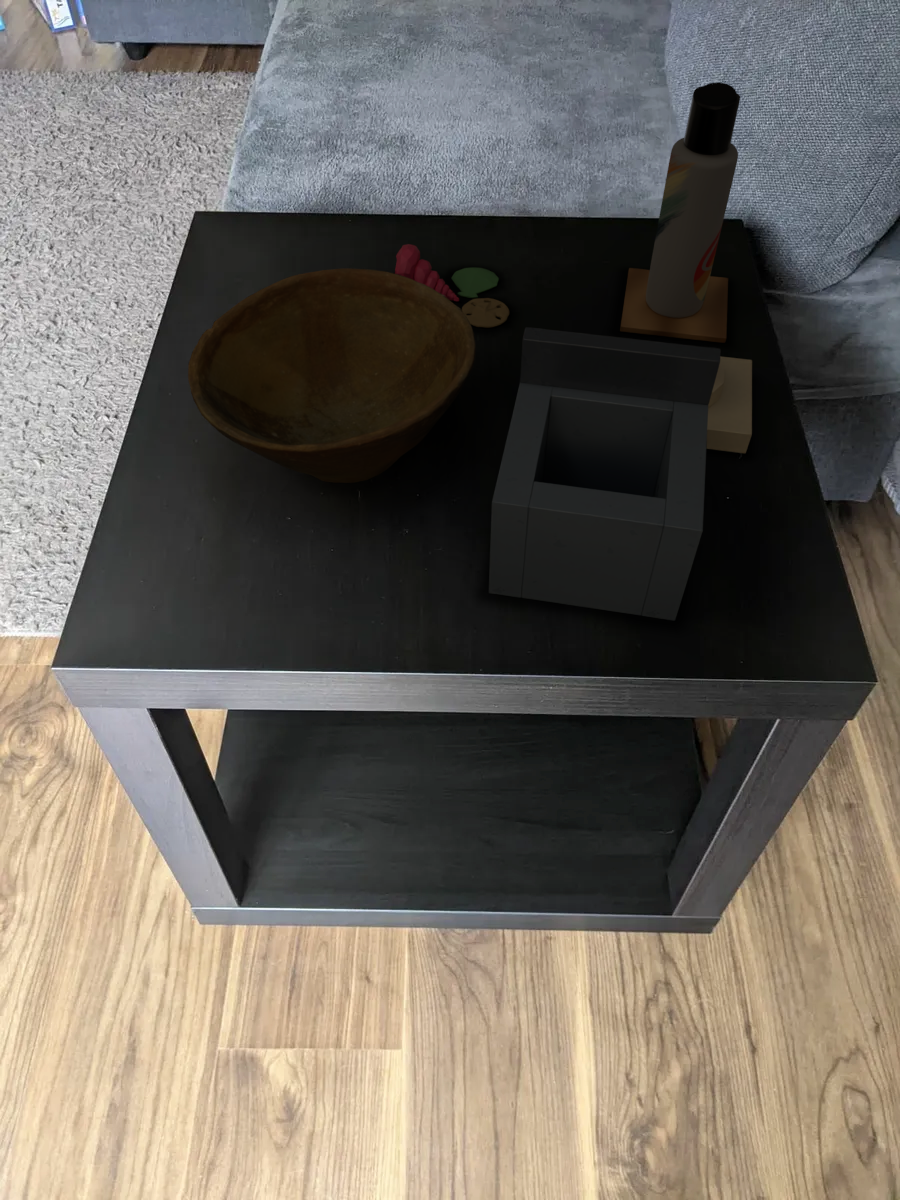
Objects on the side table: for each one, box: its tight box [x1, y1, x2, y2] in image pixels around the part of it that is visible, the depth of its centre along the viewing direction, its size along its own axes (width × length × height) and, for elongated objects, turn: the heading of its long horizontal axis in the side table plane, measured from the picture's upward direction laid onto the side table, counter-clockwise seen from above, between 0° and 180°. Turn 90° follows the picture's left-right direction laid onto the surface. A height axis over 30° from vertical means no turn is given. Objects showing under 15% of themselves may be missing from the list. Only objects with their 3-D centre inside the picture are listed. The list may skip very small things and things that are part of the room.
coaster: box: [619, 267, 729, 344], centre depth 92 cm, size 10×10×1 cm
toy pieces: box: [394, 243, 510, 329], centre depth 92 cm, size 12×11×4 cm
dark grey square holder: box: [488, 326, 722, 622], centre depth 68 cm, size 14×14×14 cm
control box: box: [706, 355, 753, 454], centre depth 82 cm, size 12×10×4 cm
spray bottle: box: [646, 82, 741, 318], centre depth 84 cm, size 6×6×20 cm
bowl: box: [187, 267, 477, 484], centre depth 77 cm, size 22×23×10 cm
